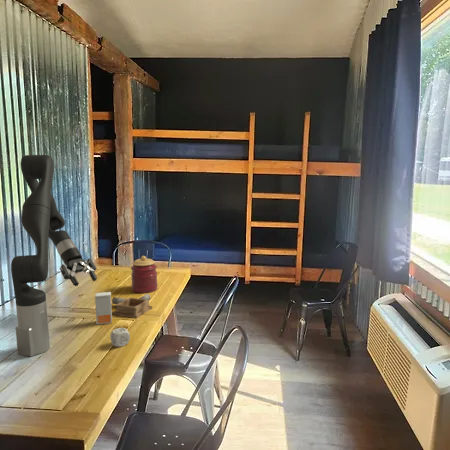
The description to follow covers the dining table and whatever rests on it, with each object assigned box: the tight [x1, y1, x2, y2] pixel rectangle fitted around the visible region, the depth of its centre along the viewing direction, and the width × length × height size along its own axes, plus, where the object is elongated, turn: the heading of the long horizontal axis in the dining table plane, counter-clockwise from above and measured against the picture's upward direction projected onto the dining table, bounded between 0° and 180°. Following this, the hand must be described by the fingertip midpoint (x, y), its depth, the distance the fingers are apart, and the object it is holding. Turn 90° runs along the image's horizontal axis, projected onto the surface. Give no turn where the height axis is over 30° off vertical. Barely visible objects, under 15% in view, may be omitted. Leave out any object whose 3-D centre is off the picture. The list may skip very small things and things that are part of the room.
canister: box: [130, 255, 158, 294], centre depth 199 cm, size 13×13×18 cm
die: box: [110, 327, 131, 348], centre depth 139 cm, size 5×5×5 cm
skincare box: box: [94, 291, 113, 325], centre depth 158 cm, size 6×4×12 cm
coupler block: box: [111, 293, 153, 319], centre depth 173 cm, size 18×18×4 cm
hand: (86, 282), depth 162 cm, fingers open, 8 cm apart
